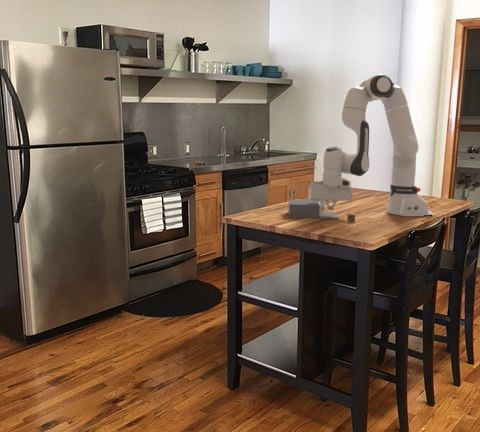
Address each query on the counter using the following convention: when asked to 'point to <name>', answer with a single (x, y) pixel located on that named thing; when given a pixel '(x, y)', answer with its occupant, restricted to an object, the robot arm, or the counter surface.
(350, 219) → the pedestal
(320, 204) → the white bracket
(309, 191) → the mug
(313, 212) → the housing
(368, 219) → the counter surface
